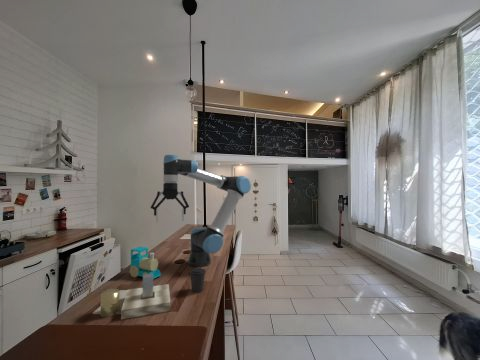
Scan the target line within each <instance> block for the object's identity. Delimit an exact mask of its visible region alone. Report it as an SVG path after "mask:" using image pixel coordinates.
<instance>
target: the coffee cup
mask: <svg viewBox="0 0 480 360" xmlns="http://www.w3.org/2000/svg"><path fill="white" fill-rule="evenodd" d="M206 273H207V271H206V269H204V268H201V267H195V268H193V269H191V270H189V275H190V284H191V292H192V293H194V294H199V293H201V292H203V290H204V286H205V285H204V284H205V275H206Z"/></svg>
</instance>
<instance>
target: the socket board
mask: <svg viewBox="0 0 480 360" xmlns="http://www.w3.org/2000/svg"><path fill="white" fill-rule="evenodd" d="M170 292H171V291H170V284H169V283H167V284H166V283H165V284H159V285H158V284H157V285H153V298H148V299H143V287H139V288H129V289H127V290H126V293H125V297H124V299H123V304H122V307H121V311H120V316H121V317H120V321H121V320H127V319H132V318H137V317H143V316H149V315H154V314H158V313H159V314H160V313H165V312H170V311H171V293H170Z"/></svg>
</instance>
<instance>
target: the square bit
mask: <svg viewBox="0 0 480 360" xmlns="http://www.w3.org/2000/svg"><path fill="white" fill-rule="evenodd" d="M153 286H154V279H153V274H145V275H143V277H142V288H143V299H148V298H153Z"/></svg>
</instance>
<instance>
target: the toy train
mask: <svg viewBox="0 0 480 360" xmlns="http://www.w3.org/2000/svg"><path fill="white" fill-rule="evenodd" d="M133 252H137V253H135V254H133ZM143 252H146V253H145V254H142V255H141V253H143ZM158 267H159V261H158V259H157V258H155V252H150V253H149V247H144V246H138V247H134V248H131V249H130V267H129V274H130V276H131V277H132V278H137V277H142V278H143V275H145V274H153V280H154V279H155V278H158V277H160V276H162V273H161V271H160V270H159V268H158Z"/></svg>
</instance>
